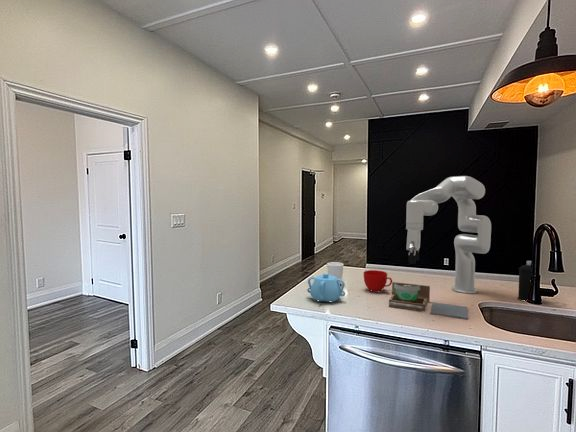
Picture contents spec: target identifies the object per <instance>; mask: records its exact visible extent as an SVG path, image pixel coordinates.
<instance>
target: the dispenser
mask: <svg viewBox="0 0 576 432" xmlns="http://www.w3.org/2000/svg"><path fill="white" fill-rule="evenodd" d="M394 284H397V285H411V286H418V285H419V286H420V290H418V298H417V303H411V302H404V301H397V300H396V291H395V288H394ZM430 292H431V286H430V285H422V284H416V283H406V282H405V283H404V282H398V281H397V282H396V281H392V284H391V297H390V298H389V299H388V307H391V306H392V308H399V309H406V310H413V311H420V312H426V308H427V305H428V303H430V301H431V300H430V298H431V297H430V296H431V295H430V294H431V293H430Z"/></svg>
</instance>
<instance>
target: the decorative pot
mask: <svg viewBox="0 0 576 432" xmlns="http://www.w3.org/2000/svg"><path fill="white" fill-rule="evenodd" d="M311 280H313V282H311ZM339 281H340V282H342V284H341V285H340V284H339ZM311 283H312V284H311ZM307 284H308V288H307V290H306V291H307V292H308V293H309V295H310V297H311V298H312V300H314V301H316V300H319V302H328V301H333V302H336V301H338V300H339V299H340V297H345V296H346V292H345V291H344V288H345V282H344V280H343V279H342V280H341V279H337V278H336V277H335V276H331V275H329V274H328V272H326V273H325V272H324V273H322V274H319V275H316V277H314V276H312V277H309V278H308V280H307Z"/></svg>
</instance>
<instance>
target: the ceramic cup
mask: <svg viewBox="0 0 576 432" xmlns="http://www.w3.org/2000/svg"><path fill="white" fill-rule="evenodd" d="M387 280H389V281H390V283H389V284H387ZM363 281H364V284H365V286H366V288H367V289H368V291H370V290H372V291H371V292H373V291H380V292H381V291H382V290H384V289H385V288H387V287H389V286H392V282H393V279H392V278H391V277H388V272H386V271H383V270H376V269H375V270H373V269H371V270H365V271H363Z"/></svg>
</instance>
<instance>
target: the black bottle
mask: <svg viewBox="0 0 576 432" xmlns="http://www.w3.org/2000/svg"><path fill="white" fill-rule="evenodd" d="M531 265H532V260H526V264H525V265H521V266H520V267H519V268H518V273H519V274H518V293H517V294H518V297H517V299H518V300H519V299H521V300H525V301H526V300H527V298H528V295H529V292H530V287H531V285H532V283H531V282H530V280H531ZM521 300H520V301H521Z"/></svg>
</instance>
